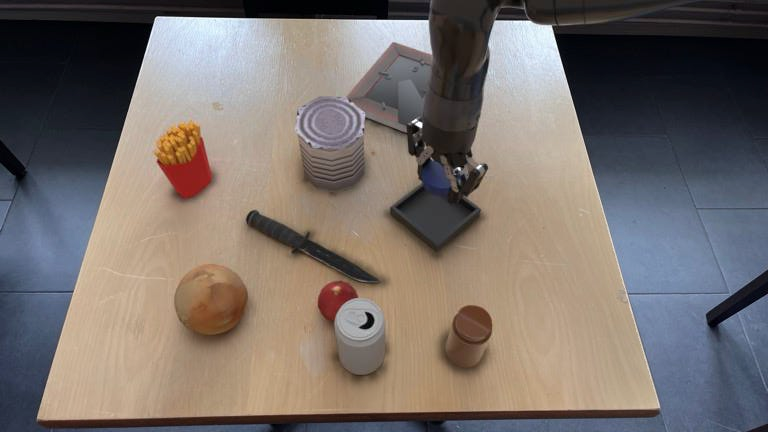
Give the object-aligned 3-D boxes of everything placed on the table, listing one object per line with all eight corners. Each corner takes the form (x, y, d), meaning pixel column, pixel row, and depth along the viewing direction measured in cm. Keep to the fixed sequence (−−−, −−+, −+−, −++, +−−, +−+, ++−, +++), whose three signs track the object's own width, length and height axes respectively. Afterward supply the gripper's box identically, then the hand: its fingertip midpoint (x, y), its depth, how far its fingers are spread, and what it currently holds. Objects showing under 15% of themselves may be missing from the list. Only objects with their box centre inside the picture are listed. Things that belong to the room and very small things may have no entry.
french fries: (185, 204, 88) (162, 156, 79) (169, 193, 90) (144, 144, 80) (221, 173, 93) (203, 124, 83) (205, 163, 94) (186, 114, 84)
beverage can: (375, 383, 71) (376, 349, 61) (332, 368, 72) (325, 333, 62) (390, 341, 75) (392, 303, 65) (348, 327, 76) (344, 288, 66)
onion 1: (171, 330, 75) (147, 298, 67) (211, 275, 80) (193, 239, 72) (227, 357, 73) (209, 327, 65) (265, 299, 78) (253, 264, 70)
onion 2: (330, 290, 79) (326, 263, 73) (365, 302, 78) (364, 276, 72) (313, 322, 76) (307, 297, 70) (349, 336, 75) (347, 312, 68)
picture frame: (418, 139, 98) (462, 74, 110) (418, 129, 96) (463, 64, 108) (342, 110, 103) (392, 50, 114) (342, 100, 101) (393, 40, 112)
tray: (479, 216, 88) (481, 209, 86) (436, 253, 84) (437, 246, 82) (432, 180, 92) (434, 173, 91) (390, 214, 88) (390, 206, 86)
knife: (242, 225, 85) (245, 211, 84) (261, 217, 89) (264, 204, 88) (365, 299, 77) (371, 284, 76) (380, 287, 81) (385, 273, 80)
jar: (489, 350, 74) (503, 321, 66) (465, 375, 72) (476, 348, 64) (461, 325, 76) (471, 295, 68) (437, 349, 74) (445, 320, 66)
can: (365, 144, 97) (364, 94, 88) (367, 191, 91) (366, 143, 81) (303, 146, 97) (296, 96, 87) (301, 194, 90) (293, 145, 80)
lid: (413, 181, 81) (414, 173, 79) (439, 161, 83) (440, 153, 82) (441, 202, 79) (442, 194, 77) (466, 182, 81) (468, 174, 79)
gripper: (393, 95, 70) (390, 176, 84) (475, 153, 64) (457, 230, 78) (431, 71, 73) (422, 153, 87) (512, 124, 67) (489, 202, 81)
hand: (439, 189), depth 82 cm, fingers closed on lid, 5 cm apart
